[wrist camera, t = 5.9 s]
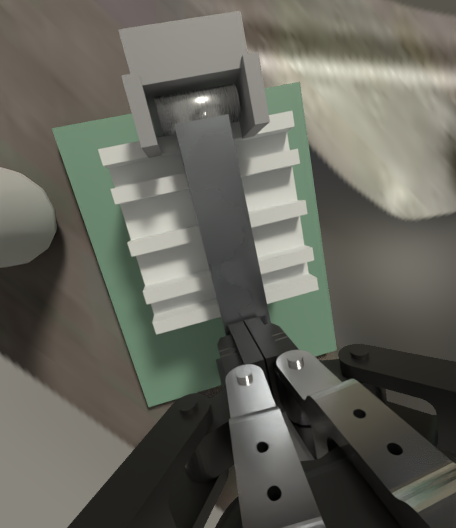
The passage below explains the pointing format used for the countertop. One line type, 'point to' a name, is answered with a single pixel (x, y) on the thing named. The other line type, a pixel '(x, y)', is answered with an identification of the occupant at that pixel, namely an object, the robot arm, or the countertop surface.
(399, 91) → the countertop surface
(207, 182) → the strap
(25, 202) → the salt shaker
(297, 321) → the heatsink base
